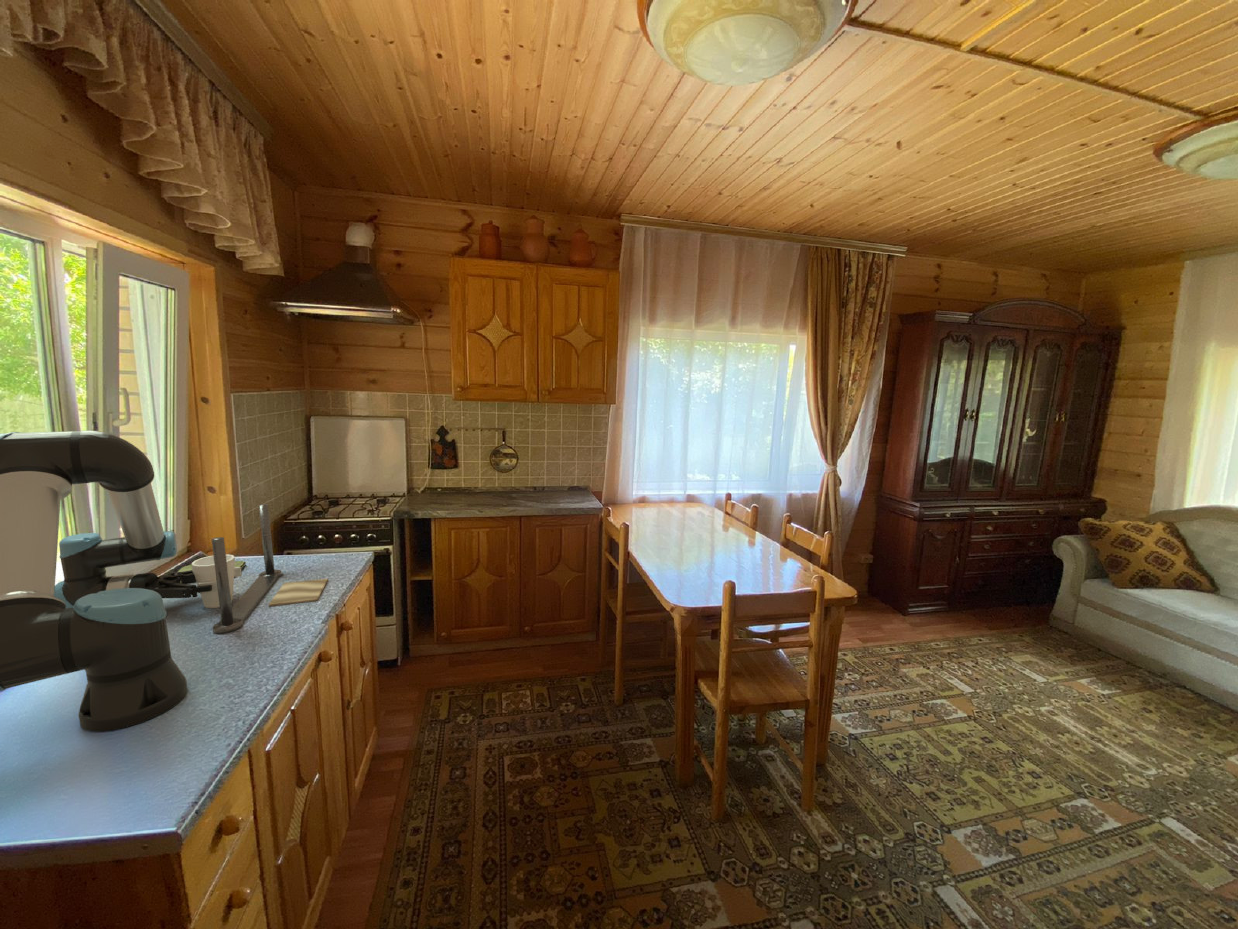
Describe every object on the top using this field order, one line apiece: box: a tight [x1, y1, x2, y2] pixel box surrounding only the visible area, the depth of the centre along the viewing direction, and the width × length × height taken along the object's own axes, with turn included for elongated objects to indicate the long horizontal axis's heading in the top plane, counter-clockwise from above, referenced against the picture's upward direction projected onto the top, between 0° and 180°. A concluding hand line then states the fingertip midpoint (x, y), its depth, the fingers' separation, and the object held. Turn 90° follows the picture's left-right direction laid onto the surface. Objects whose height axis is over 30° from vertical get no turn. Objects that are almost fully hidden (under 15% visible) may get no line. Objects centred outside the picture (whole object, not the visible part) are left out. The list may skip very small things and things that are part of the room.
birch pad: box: [268, 578, 329, 607], centre depth 148 cm, size 16×12×1 cm
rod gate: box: [211, 503, 282, 635], centre depth 141 cm, size 42×6×24 cm, turn 21°
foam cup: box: [190, 553, 236, 609], centre depth 139 cm, size 10×9×13 cm
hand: (234, 578), depth 141 cm, fingers open, 10 cm apart
